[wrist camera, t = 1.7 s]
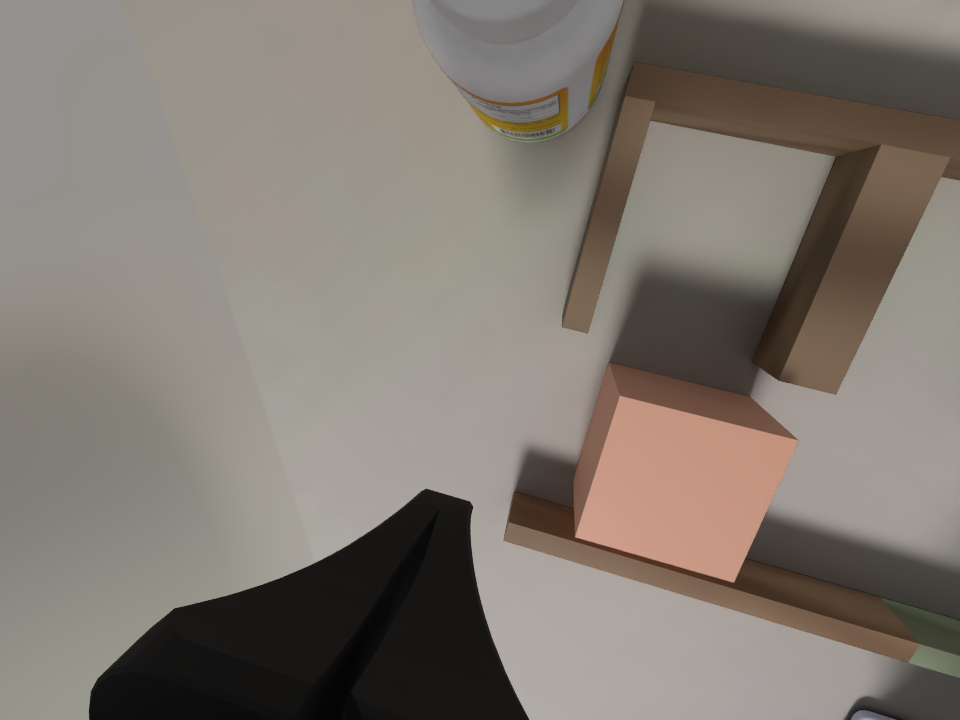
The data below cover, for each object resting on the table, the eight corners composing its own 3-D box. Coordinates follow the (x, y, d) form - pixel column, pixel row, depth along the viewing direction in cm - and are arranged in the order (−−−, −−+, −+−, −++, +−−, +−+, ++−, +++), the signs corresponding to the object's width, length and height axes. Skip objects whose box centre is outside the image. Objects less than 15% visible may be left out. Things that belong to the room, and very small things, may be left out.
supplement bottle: (547, -52, 17) (524, -401, 7) (636, 73, 17) (718, -110, 8) (437, 63, 18) (308, -105, 9) (522, 174, 19) (480, 120, 10)
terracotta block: (700, 513, 22) (733, 582, 17) (573, 478, 22) (575, 537, 18) (748, 395, 20) (798, 440, 16) (608, 361, 20) (619, 395, 16)
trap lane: (1061, 670, 20) (1127, 728, 18) (509, 508, 23) (503, 540, 21) (1413, 231, 15) (1576, 232, 12) (625, 84, 17) (634, 61, 15)
